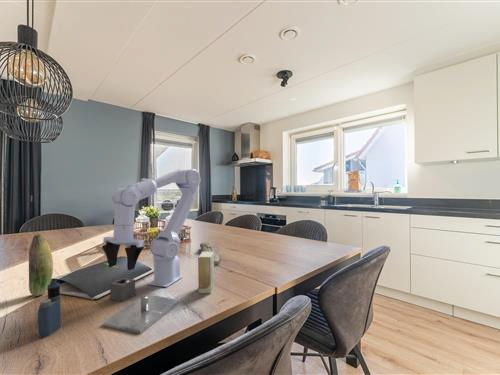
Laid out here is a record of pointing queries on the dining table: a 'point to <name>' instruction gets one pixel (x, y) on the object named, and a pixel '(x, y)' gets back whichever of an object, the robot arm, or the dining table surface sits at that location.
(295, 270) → the dining table surface
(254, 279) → the dining table surface
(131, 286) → the hollow square box
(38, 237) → the vegetable
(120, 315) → the shaft plate
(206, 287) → the skincare box
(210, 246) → the elongated rock
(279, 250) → the dining table surface
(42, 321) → the vaping device
